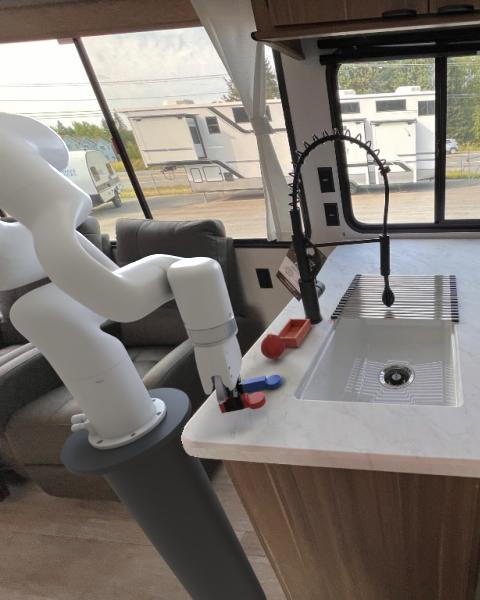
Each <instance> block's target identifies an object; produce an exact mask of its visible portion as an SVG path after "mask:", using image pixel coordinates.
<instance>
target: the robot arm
mask: <svg viewBox="0 0 480 600" xmlns="http://www.w3.org/2000/svg"><path fill="white" fill-rule="evenodd" d="M70 158H71V156H70V151H69V149H68V146H67V144H66V143H65V142H64V140H63V138H61V136H60V135H59V134H58V133H57V132H56V131H54V130H53V129H52V128H51V127H50V126H48V125H47V124H45V123H44V122H42V121H40V120H38V119H36V118H34V117H31V116H29V115H25V114H21V113H13V112H4V111H0V210H1V211H3V212H4V213H6V214H7V215H8V216H9V217H11V218H12V219H14V220H15V221H13V222H6V221H2V220H0V292H4V291H9V290H10V291H11V290H13V289H18V288H21V287H23V286H26V285H29V284H32V283H34V282H35V283H36V282H37V281H40V280H43V279H45V278H49V280H50V281H51V282H48V283H46V284H44V285H41V286H39V287H36V288H34V289H32V290H30V291H28V292H26V293H24V294H23V295H22V296H20V297H19V298H18V299H17V300H16V301H15V302H13V304H12V306H11V307H10V309H9V320H10V322H11V324H12V326H13V327H14V328H15V329H16V331H18V333H19V334H21V335H22V337H24V338H25V339H26V340H27V341H28V342H30V344H32V345H33V346H34V348H36V349H37V350H38V351H39V353H41V354H42V356H43V357H44V358H45V359H46V360H47V361H48V363H49V364H50V366H51V367H52V368H53V370H54V371H55V373H56V374H57V376H58V377H59V378H60V380H61V381H62V382H63V384H64V386H65V387H66V389H67V390H68V392H69V393H70V395H71V396H72V398H73V399H74V401H75V402H76V404H77V405H78V406H79V408H80V410H81V411H82V412H83V413H82V412H81V413H79V414H78V413H77V414H74V415H72V416H71V418H70V423H71V424H72V425H71V427H70V430H71V432H72V433H73V432H75V431H80V430H83V429H86V430H88V431H89V432H90V433H89V436H88V439H89V442H90V444H91V445H92V446H93V447H94V448H97V449H112V448H117V447H121V446H124V445H126V444H129V443H131V442H133V441H135V440H137V439H139V438H141V437H143V436H144V435H146V434H147V433H149V432H150V431H151V430H152V429H154V428H155V427H156V426H157V425H158V424H159V423H160V422H161V420H162V419H163V417H164V416H165V413H166V406H165V404H164V402H163V401H162V400H160V399H157V398H151V397H150V395H149V393H148V391H147V390H148V389H147V387H146V386H145V384H144V382H143V380H142V378H141V377H140V375H139V372H138V371H137V369H136V367H135V364H134V362H133V361H132V359H131V357H130V355H129V354H128V351H127V349H126V348H125V346H124V344H123V343H122V341H120V339H118V338H117V337H115V336H113V335H111V334H109V333H107V332H105V331H103V330H102V329H101V325H103V324H105V323H106V322H107V321H108V320H109V321H113V322H117V323H132V322H136V321H137V322H138V321H139V320H142V319H143V318H145V317H147V316H148V315H150V314H151V313H152V312H154V311H155V310H157V309H159V307H161V306H162V305H164V304H165V303H167V302H169V301H173V300H175V303H176V307H177V308H178V312H179V314H180V317H181V320H182V323H183V325H184V329H185V331H186V335H187V337H188V339H189V343H190V344H191V345H192V346H193V352H194V358H195V363H196V368H197V372H198V376H199V379H200V383H201V386H202V389H203V392H204V394H205V395H207V396H209V395H212V394H213V391H214V388H215V394H216V401H217V404H219V403H221V402H223V404H224V407H225V410H226V412H227V413H232V412H233V413H234V412H237V411H243V410H244V409H243V408H244V405H243V402H242V398H241V394H245V392H244V389H243V385H242V378H241V373H240V372H241V368H242V364H243V356H242V351H241V348H240V344H239V341H238V338H237V334H238V331H239V329H238V325H237V320H236V318H235V314H234V311H233V307H232V302H231V299H230V295H229V290H228V288H227V283H226V281H225V276H224V273H223V269H222V267H221V264H220V263H219V262H218V261H217V260H216V259H213V258H210V257H202V256H200V257H199V256H198V257H191V258H190V257H189V258H185V257H181V256H174V255H169V254H161V253H160V254H152V255H149V256H146V257H143V258H141V259H139V260H136V261H135V262H131V263H129V264H126V265H125V266H122V267H120V266H118V265H117V263H115V262H114V261H113V260H111V258H109V256H107V255H106V254H105V253H104V252H103V251H101V249H99V248H98V247H97V246H96V245H95V244H93V242H91V241H90V240H89V239H88V238H87V237H85V236H84V235H83V234H82V233H80V232H79V231H78V230H77V229H78V227H80V226H81V224H83V223H84V222H85V221H86V220H87V218H88V217H89V216H90V214H91V213H92V209H93V206H94V205H93V204H94V203H93V200H92V199H91V197H90V195H89V194H87V192H85V191H84V190H82V189H81V188H80V187H79V186H77V185H76V184H75V183H74V182H73V181H71V180H70V178H68V177H66V176H65V175H63V173H61V172H62V171H64V170H65V169H66V168H67V167H68V166H69V164H70V160H71V159H70Z"/></svg>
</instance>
